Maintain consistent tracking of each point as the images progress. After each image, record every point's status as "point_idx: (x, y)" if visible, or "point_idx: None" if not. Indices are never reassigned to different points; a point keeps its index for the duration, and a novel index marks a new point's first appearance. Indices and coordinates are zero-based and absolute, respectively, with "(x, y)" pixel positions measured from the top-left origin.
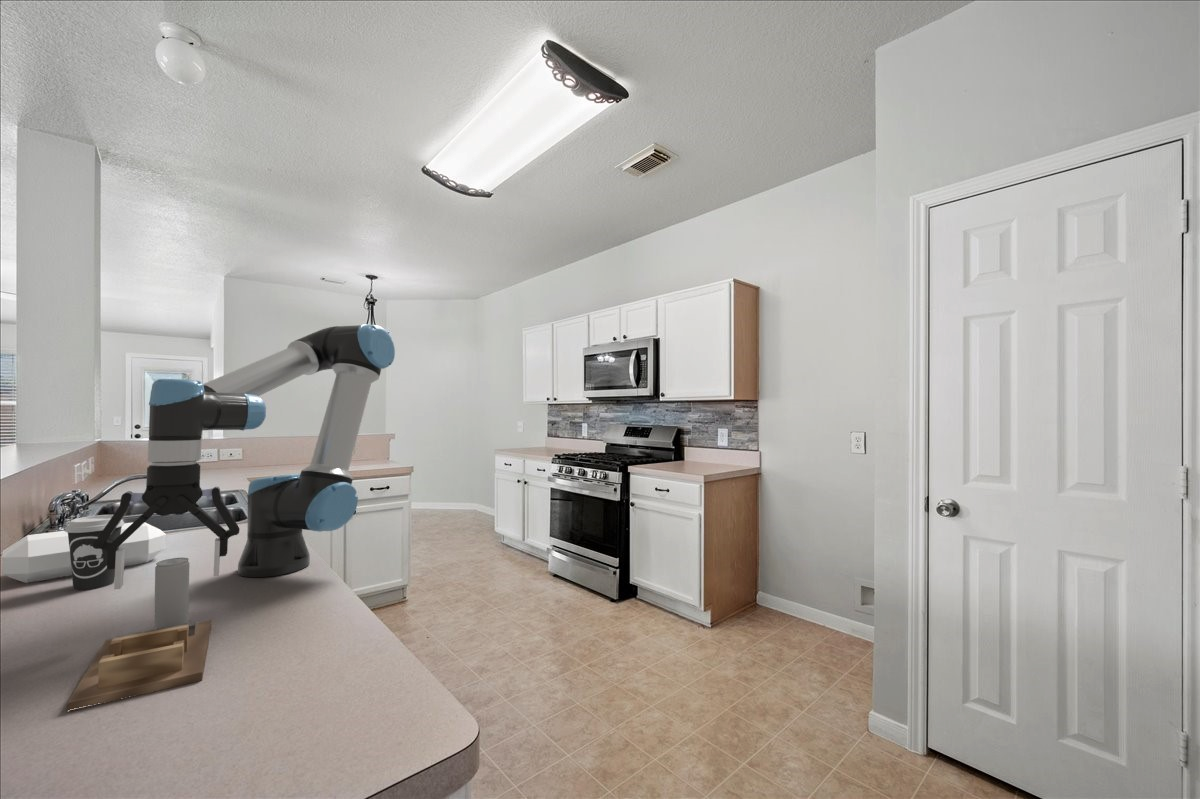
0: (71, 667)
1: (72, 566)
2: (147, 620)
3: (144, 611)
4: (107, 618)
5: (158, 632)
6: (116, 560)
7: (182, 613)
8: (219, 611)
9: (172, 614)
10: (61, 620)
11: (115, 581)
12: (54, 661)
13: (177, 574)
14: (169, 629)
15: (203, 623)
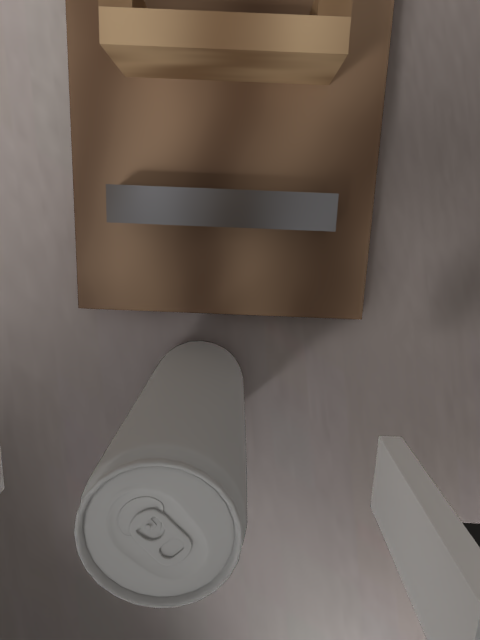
0: (424, 197)
1: None
2: (268, 487)
3: (283, 575)
4: (369, 572)
5: (199, 12)
6: (472, 543)
7: (160, 364)
8: (76, 444)
9: (187, 354)
10: None
11: (412, 458)
12: (466, 281)
13: (140, 426)
14: (163, 24)
15: (99, 290)
